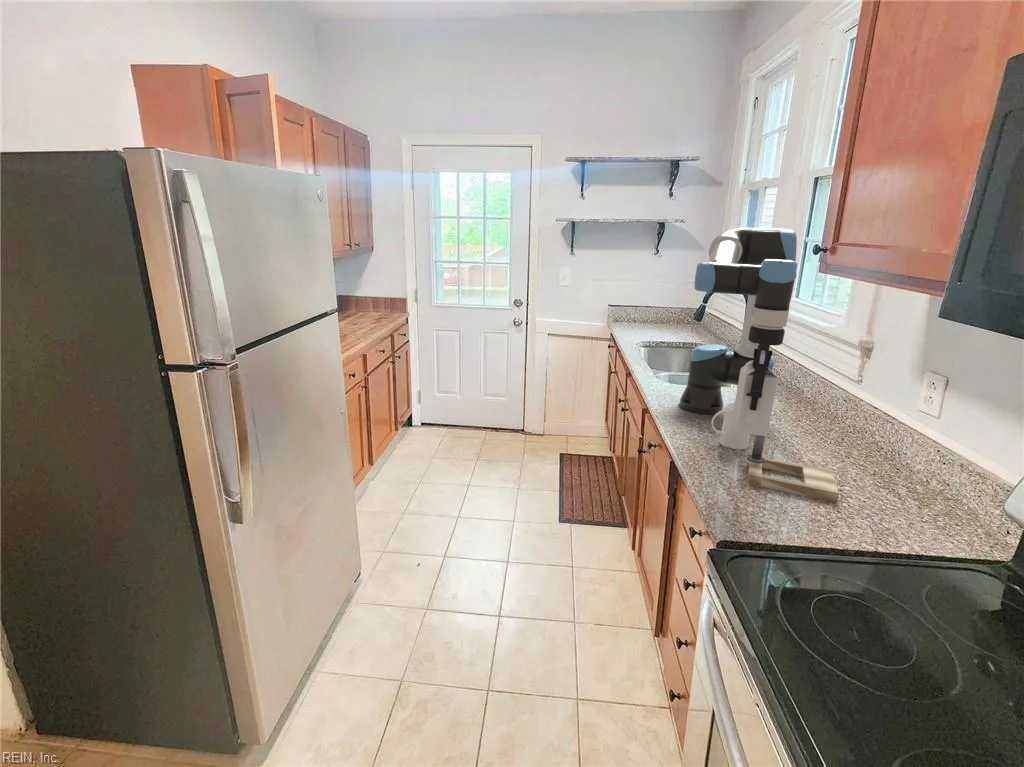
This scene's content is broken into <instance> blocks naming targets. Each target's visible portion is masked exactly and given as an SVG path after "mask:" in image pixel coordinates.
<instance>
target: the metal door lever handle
mask: <svg viewBox="0 0 1024 767" xmlns="http://www.w3.org/2000/svg"><path fill="white" fill-rule="evenodd" d="M765 440H766V436H761V435H754V441H753V447H752V451H751V454H748V455H747V456H746V458H747V460H748V462H749V461H751V462H754V463H764V462H765V458H764V457H765V456H763V451H764V445H765V442H766V441H765Z"/></svg>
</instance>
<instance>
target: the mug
mask: <svg viewBox="0 0 1024 767" xmlns="http://www.w3.org/2000/svg"><path fill="white" fill-rule="evenodd" d="M734 405H735V402H729V403H727V404H725V408H724V409H723V410H722V411H719V412H718V413H716V414H713V415H714V416H713V417H712V418H711V427H712V430H713V431H714V432H715V433H716V434H717V435H720V437H719V440H718V442H719V444H721V445H722V446H724V447H725V448H728V449H733V450H747V449H748V448H749V447H750V443H749V442H750V438H751V434H743V433H736V432H735V429H734V427H733V425H732V417H733V411H734ZM722 414H724V415H723V420H722V427H721V430H718V429H717V428H716V427H715V425H714V422H715V419H716V418H717V417H718V416H719V415H722Z"/></svg>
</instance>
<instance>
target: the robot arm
mask: <svg viewBox="0 0 1024 767" xmlns="http://www.w3.org/2000/svg"><path fill="white" fill-rule="evenodd" d="M797 240H798V239H797V233H796V231H795V230H794V229H785V228H781V227H780V228H779V227H778V228H775V227H773V228H772V227H771V228H770V227H766V228H765V227H738V228H734V229H729V230H727V231H725V232H723V233H721V234H720V235H718V236H716V238H715V239H713V240H712V242H711V243H710V246H709V248H708V255H709V259H708V261H707V262H706V261H705V262H699V263H697V266H696V269H695V276H694V284H693V285H694V289H695V291H697V292H703V293H706V294H707V293H708V294H710V293H712V294H727V295H728V294H729V295H740V296H742V295H743V296H748V297H747V303H746V307H745V313H744V320H743V324H742V331H741V334H740V335H741V336H740V342H739V343H738V344H736V345H735V346H734V349H733V351H732V350H729V349H728V347H727V346H726V345H722V344H701V345H698V346H696V347H694V348H693V349H692V351H691V356H690V359H689V360H690V363H689V364H690V365H689V369H688V370H689V371H688V378H687V383H686V384H687V385H686V386H685V388H684V390H683V392H682V395H681V397H680V399H679V406H680V407H681V408H682V409H684V410H686V411H689V412H693V413H695V414H696V413H697V414H702V415H715V414H716V413H718V412H719V411H722V410H724V399H723V395H722V384H729V385H734V386H738V382H739V376H740V370H741V368H742V367H743V366H745V364H746V363H747V362H749V361H751V360H754V362H753V368H754V375H753V380H752V386H751V391H750V393H747V394H746V396H749V398H748V404H747V409H746V415H745V420H744V421H747V422H753V423H757V418H758V413H759V407H760V402H761V397H762V390H763V384H764V379H765V373H766V370H768V368H769V369H770V370H771V371H772V372H773V367H774V366H775V365H774V364H775V356H774V355H773V350H771V349H770V348H771V346H780V345H782V344H783V342H784V337H785V333H786V330H785V327H787V324H788V320H789V319H788V318H789V314H790V304H791V300H792V294H793V290H794V285H795V282H796V281H795V280H796V279H797V276H798V275H797V270H798V269H797V268H798V262H796V261H797V260H796V259H797V244H798V243H797V242H798V241H797ZM756 358H757V359H756ZM755 363H756V364H755ZM756 391H758V392H756Z"/></svg>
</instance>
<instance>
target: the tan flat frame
mask: <svg viewBox="0 0 1024 767" xmlns="http://www.w3.org/2000/svg"><path fill="white" fill-rule="evenodd" d="M763 457H764V458H765V462H764V463H754V462H751V461H749V460H748V470H747V484H748V485H753V486H757V487H761V488H767V489H773V490H776V491H780V492H781V491H782V492H785V493H790V494H794V495H800V496H805V497H808V498H809V497H810V498H814V499H818V500H822V501H823V500H824V501H828V502H833V503H838V498H839V495H840V492H839V489H838V485H837V483H836V479H835V477H834V473H833V470H832V469H828V468H822V467H817V466H813V465H812V466H811V465H807V464H802V463H796V462H792V461H786V460H781V459H776V458H770V457H765V456H763ZM763 469H766V470H769V471H776V472H780V473H786V474H791V475H795V476H800V478H801V481H796V480H791V479H787V478H783V477H777V476H771V475H767V474H763Z"/></svg>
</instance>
